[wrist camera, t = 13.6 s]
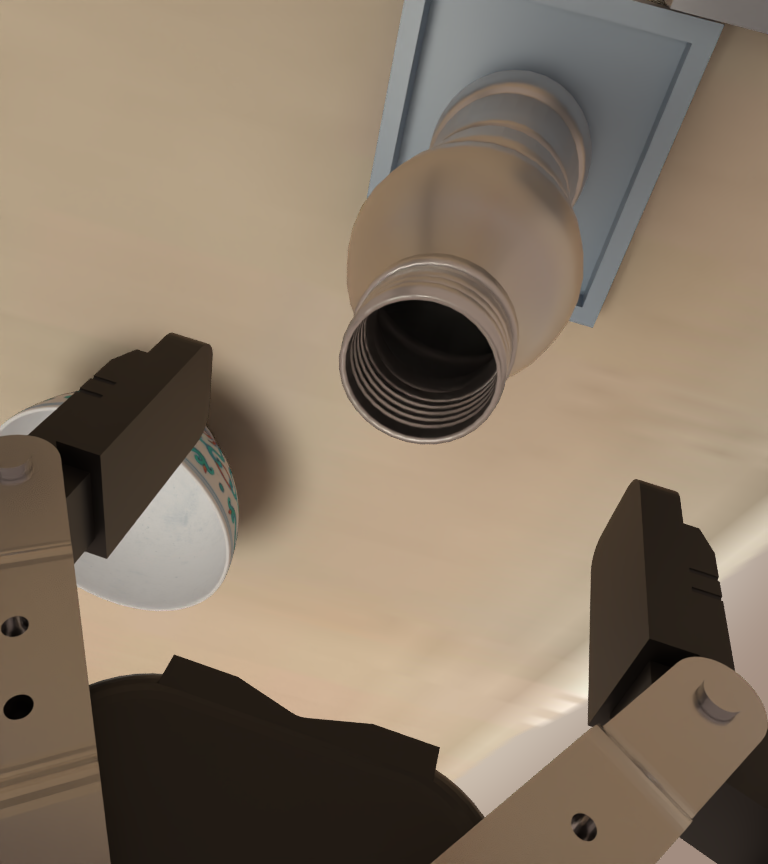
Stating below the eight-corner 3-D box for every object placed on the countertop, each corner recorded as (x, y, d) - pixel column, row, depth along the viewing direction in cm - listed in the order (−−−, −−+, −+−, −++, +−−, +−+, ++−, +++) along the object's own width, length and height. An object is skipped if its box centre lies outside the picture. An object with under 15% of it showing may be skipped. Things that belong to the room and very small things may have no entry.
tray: (425, -58, 28) (415, -58, 27) (717, 18, 27) (724, 24, 26) (366, 241, 36) (355, 256, 34) (593, 309, 35) (592, 327, 33)
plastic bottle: (418, 189, 33) (246, 430, 17) (476, 31, 29) (320, 159, 13) (547, 245, 33) (493, 538, 17) (623, 95, 29) (646, 301, 13)
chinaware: (94, 509, 53) (27, 585, 47) (40, 324, 44) (-51, 388, 38) (286, 545, 50) (242, 632, 44) (269, 356, 41) (210, 431, 35)
